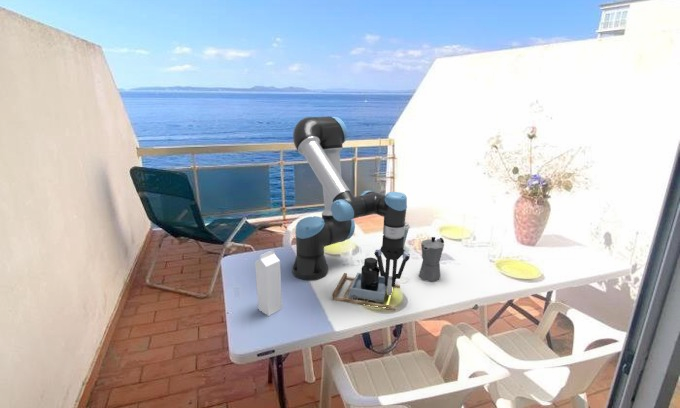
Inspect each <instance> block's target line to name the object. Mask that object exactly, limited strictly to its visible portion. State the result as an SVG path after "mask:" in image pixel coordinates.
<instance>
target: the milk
mask: <svg viewBox="0 0 680 408" xmlns="http://www.w3.org/2000/svg"><path fill="white" fill-rule="evenodd" d="M254 267H255V278H256V279H255V281H256V282H255V283H256V296H257V297H256V298H257V310H258V309H259V310H258V311H260V312H261V311H262V313H263V314H265V315H266V314H267V315H266V316H268V317H269V316H271V315H274V313H277V312H279V311H280V310H282V308H283V303H282V302H283V301H282V297H283V296H282V280H281V279H282V276H281V260H280V259H279V258H278V256H277V255H276V254H275V250H274V249H272V250H269V251H266V252H265V253H262V254H260V255H259V259H258V260H255V262H254Z"/></svg>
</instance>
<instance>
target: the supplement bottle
mask: <svg viewBox="0 0 680 408" xmlns="http://www.w3.org/2000/svg"><path fill="white" fill-rule="evenodd" d="M363 263H364V264H363V265H362V267H361V268H360V269H361V271H360V273H361V289H364V290H370V291H377V290H378V286H379V276H380V271H379V266H378V261H377V258H376V257H365V259H364V262H363Z"/></svg>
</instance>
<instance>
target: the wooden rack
mask: <svg viewBox="0 0 680 408" xmlns="http://www.w3.org/2000/svg"><path fill="white" fill-rule="evenodd" d="M354 279H355V277H352V276H348V273H347V272H344V273H343V274H342V276H341V278H340V279H339V281H338V283H337V285H336V287H335V289H334V290H333V292H332V294H331V295H332V298H331V299H332V301H338V302H343V303H349V304H355V305H362V306H366V305H370V306H369V307H371V306H378V307H386V308H389V309H388V310H390V311H393V312H394V311H396V306H393V305H390V304H389V305H386V304H383V303H379V304H377V303H375V302H373V301H372V302H370V301H369V300H368V299H363V300H360V299H359V300H358V299H356V300H354V299H352V298H348V296H349V295H350V287H351V285H352V283H353V281H354ZM346 281H350V283H349V285H348V287H347V289H346V291H345V293H344V295H343V297H342V296H339V294H340V292H341V290H342V289H343V286H344V285H345V283H346ZM396 287H397V289H400V288H401V284H399V283H395V286H394V288H396ZM367 301H368V302H367ZM363 304H365V305H363Z"/></svg>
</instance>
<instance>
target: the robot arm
mask: <svg viewBox="0 0 680 408" xmlns="http://www.w3.org/2000/svg"><path fill="white" fill-rule="evenodd" d="M292 132H293V133H292V140H293V145H294V147H295V149H296V150H297V152H298V154H300V155H301V156H303V157H304V158H305V160H306V161H307V163H308V165H309V166H310V168H311V169H312V171H313V173H314V175H315V176H316V178H317V179H318V182H319V183H320V184H321V186H322V195H323V204H324V205H323V206H324V210H323V211H322V212H321V217H320V216H307V217H304V218H301V219H300V220H299V221H298V222H297V223H296V226H295V242H296V243H295V245H296V246H295V247H296V252H295V253H296V256H295V258H294V261H293V265H292V274H293V276H294V275H295V278H297V279H300V280H305V281H315V280H319V279H322V278H324V277H325V276H327V275H328V273H329V265H328V262H327V259H326V256H325V247H328V246H331V245H335V244H339V243H343V242H345V241H347V240H350V239H351V238H352V237H353V235H354V234H355V231H356V229H355V228H356V224H355V219H356V218H360V217H361V218H362V217H366V216H370V215H374V214H375V215H378V216H381V217H383V228H382V229H383V230H382V234H383V235H382V243H381V247H380V249H376V250H375V251H374V256H375V259H376V260H377V266H378V267H379V276H383V277H385V286H387V291H386V296H388V295H391V293H392V294H393V292H392V287H394V286H395V284H396V282H397V281H396V280H397V279H398V280H401V277H402V274H403V272H404V269H405V266H406V263H407V262H408V261H409V260H410V257H411V254H410V253H407V252H405V247H404V248H403V243H404V237H403V236H404V232H405V222H406V217H407V216H406V214H407V209H408V205H407V204H408V203H407V201H408V198H407V195H406V194H405V193H403V192H399V191H390V192H389V191H388V192H387V193H385V194H382V193H379V192H377V191H375V190H374V191H373V190H364V191H363V192H362V193H361V194H360V195H357V196H354V194H353V193H352V191H351V190H350V189H349V187H348V185H347V184H346V183H345V180H344V179H343V177H342V169H341V168H342V166H341V157H340V156H341V155H340V152H341V151H342V150H343V144H345V142H346V141H347V138H348V128H347V126H346V124H345V123H344V121H343V120H342V119H341V118H340V117H337V116H331V115H328V116H307V117H304V118H302V119H300V120H299V121H298V122H297V123H296V125H295V127H294V129H293V131H292ZM382 255H383V256H384V258H385V266H384V262H383V259H382ZM401 257H402V261H401V264H400V267H399V270H398V269H397V267H398V260H400V258H401ZM391 261H392V272H391V275H390V269H391V268H390V267H391ZM384 267H385V268H384ZM397 270H398V273H397ZM394 288H395V287H394Z"/></svg>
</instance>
